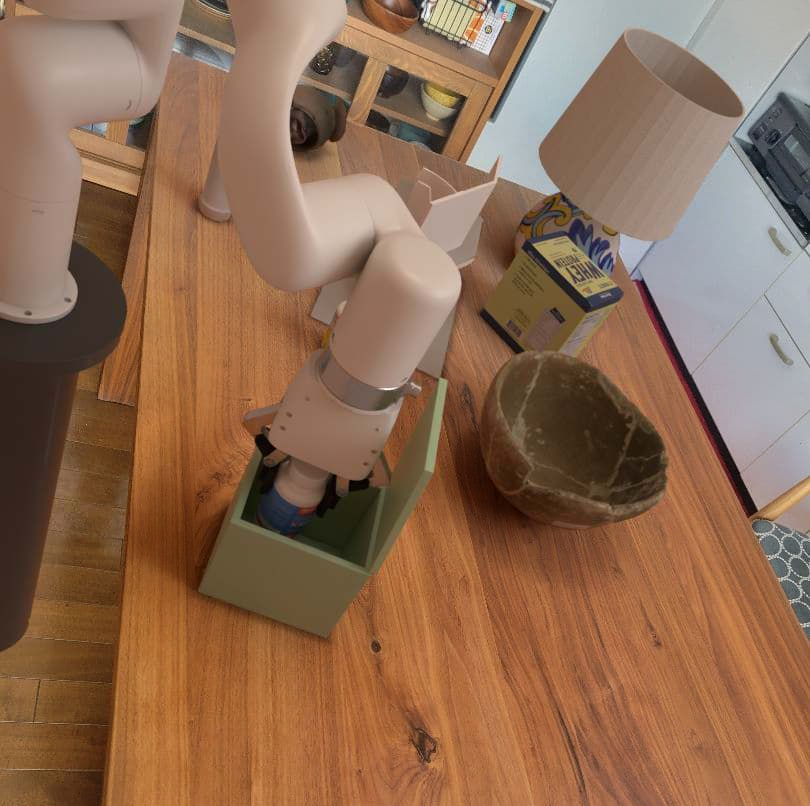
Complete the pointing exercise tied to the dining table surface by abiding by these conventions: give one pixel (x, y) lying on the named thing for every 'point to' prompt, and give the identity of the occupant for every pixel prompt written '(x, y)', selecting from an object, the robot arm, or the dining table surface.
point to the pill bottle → (292, 498)
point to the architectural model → (441, 224)
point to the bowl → (569, 443)
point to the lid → (409, 476)
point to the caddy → (294, 557)
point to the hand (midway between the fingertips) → (294, 494)
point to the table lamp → (633, 147)
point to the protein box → (551, 297)
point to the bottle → (214, 193)
